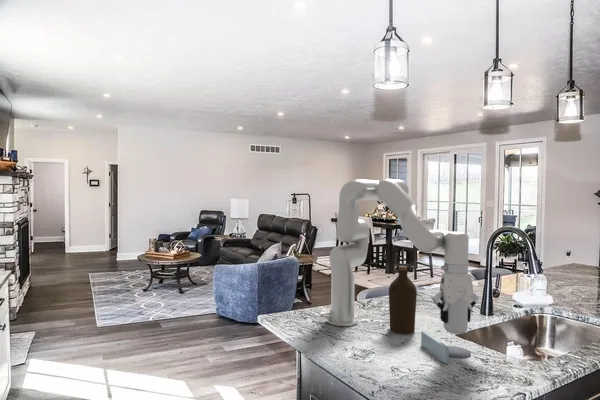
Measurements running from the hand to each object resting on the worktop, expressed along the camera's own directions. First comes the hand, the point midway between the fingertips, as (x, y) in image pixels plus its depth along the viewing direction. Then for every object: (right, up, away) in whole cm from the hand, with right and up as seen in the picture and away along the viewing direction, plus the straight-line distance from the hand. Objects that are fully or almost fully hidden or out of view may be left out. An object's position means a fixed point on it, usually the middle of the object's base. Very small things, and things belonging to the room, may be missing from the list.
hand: (455, 321), depth 141 cm
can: (0, -4, 0) cm, 4 cm away
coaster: (0, -11, 0) cm, 11 cm away
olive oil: (-12, -10, +22) cm, 28 cm away
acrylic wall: (-8, -11, -1) cm, 13 cm away
